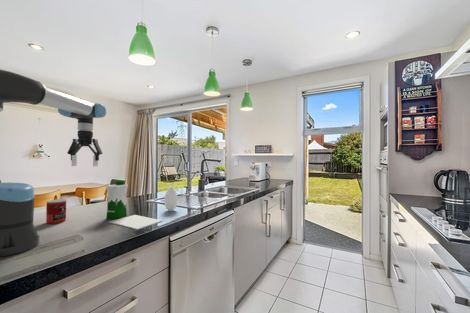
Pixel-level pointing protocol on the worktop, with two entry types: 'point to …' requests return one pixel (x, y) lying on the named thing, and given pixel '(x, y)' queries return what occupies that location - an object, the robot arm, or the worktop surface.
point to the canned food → (56, 211)
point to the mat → (135, 222)
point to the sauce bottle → (171, 199)
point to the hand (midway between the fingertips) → (84, 166)
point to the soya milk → (116, 200)
